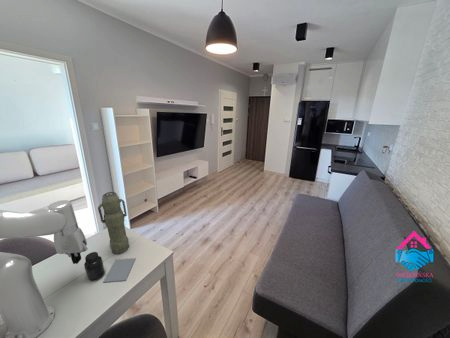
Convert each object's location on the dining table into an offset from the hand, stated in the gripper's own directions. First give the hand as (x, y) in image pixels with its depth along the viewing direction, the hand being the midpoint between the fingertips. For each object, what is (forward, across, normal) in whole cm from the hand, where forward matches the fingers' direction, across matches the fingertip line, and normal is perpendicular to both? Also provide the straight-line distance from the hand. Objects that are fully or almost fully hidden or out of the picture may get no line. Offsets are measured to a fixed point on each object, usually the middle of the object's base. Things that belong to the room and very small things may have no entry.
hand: (77, 261), depth 83 cm
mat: (+9, +17, +2) cm, 19 cm away
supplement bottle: (+9, +7, 0) cm, 11 cm away
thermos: (+10, +11, +16) cm, 22 cm away
